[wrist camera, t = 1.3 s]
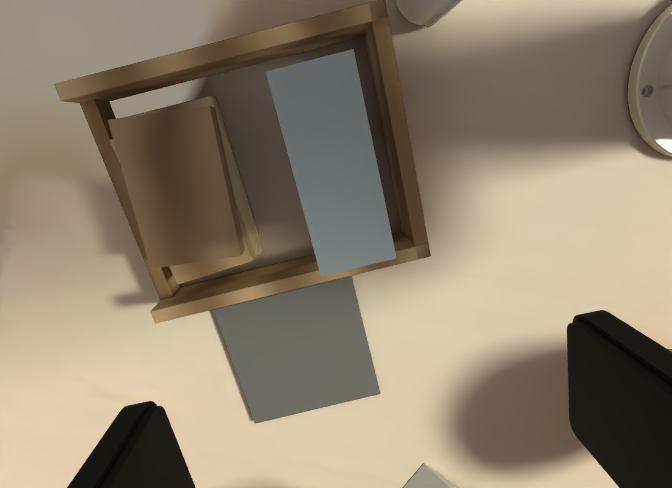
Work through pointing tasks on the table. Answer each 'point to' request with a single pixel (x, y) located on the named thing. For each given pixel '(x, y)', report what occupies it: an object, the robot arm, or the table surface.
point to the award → (428, 479)
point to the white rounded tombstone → (425, 10)
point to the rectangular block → (333, 161)
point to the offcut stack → (186, 189)
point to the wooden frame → (241, 53)
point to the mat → (299, 349)
